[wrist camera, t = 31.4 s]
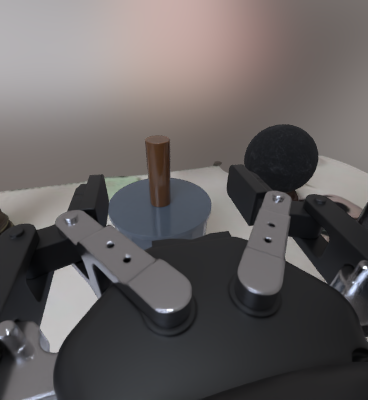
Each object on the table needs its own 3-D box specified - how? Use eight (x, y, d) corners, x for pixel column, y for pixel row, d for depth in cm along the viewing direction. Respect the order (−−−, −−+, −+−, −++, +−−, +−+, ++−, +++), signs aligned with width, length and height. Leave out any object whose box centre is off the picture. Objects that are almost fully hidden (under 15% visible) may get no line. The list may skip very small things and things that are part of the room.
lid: (229, 205, 30) (240, 137, 25) (163, 264, 22) (158, 180, 16) (159, 176, 36) (156, 117, 31) (88, 212, 28) (68, 140, 23)
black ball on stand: (225, 193, 49) (235, 123, 41) (260, 175, 56) (274, 113, 48) (281, 223, 41) (308, 143, 32) (313, 198, 48) (342, 127, 40)
